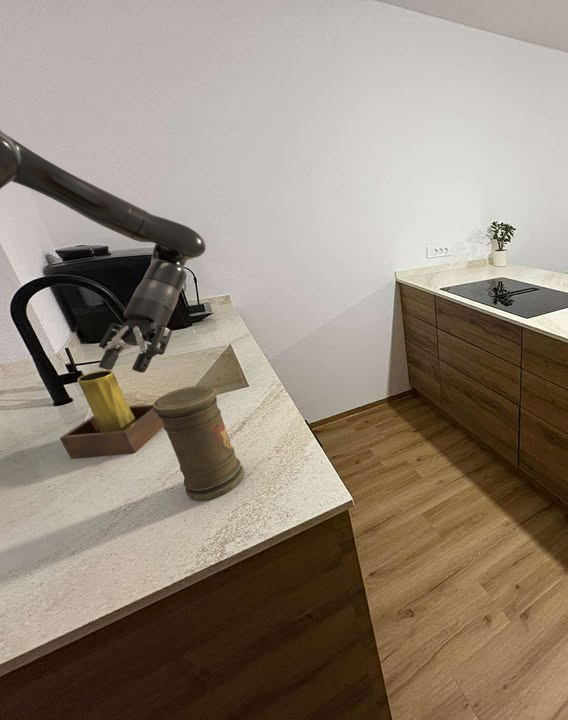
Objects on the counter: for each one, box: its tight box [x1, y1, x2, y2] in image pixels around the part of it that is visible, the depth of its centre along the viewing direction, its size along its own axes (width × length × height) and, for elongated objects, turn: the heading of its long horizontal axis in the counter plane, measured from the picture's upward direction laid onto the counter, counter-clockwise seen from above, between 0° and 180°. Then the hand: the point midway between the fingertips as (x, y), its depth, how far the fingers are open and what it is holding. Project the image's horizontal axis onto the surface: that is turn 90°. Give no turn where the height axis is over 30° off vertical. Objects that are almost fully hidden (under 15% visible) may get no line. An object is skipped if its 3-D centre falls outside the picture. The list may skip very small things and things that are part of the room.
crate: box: [59, 403, 164, 459], centre depth 80 cm, size 12×12×5 cm
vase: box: [77, 369, 136, 433], centre depth 78 cm, size 6×6×14 cm
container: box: [152, 385, 245, 501], centre depth 65 cm, size 9×9×18 cm
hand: (121, 370), depth 80 cm, fingers open, 8 cm apart
